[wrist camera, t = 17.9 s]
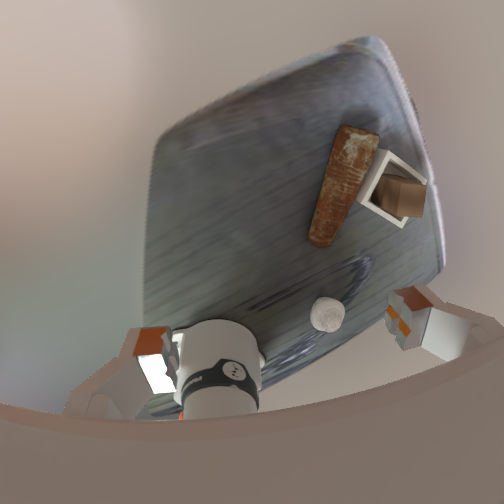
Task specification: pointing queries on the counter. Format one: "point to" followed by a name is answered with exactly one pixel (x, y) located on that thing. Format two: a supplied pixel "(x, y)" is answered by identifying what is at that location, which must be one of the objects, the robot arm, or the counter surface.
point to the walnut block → (399, 195)
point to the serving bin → (380, 164)
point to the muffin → (327, 314)
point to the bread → (341, 181)
